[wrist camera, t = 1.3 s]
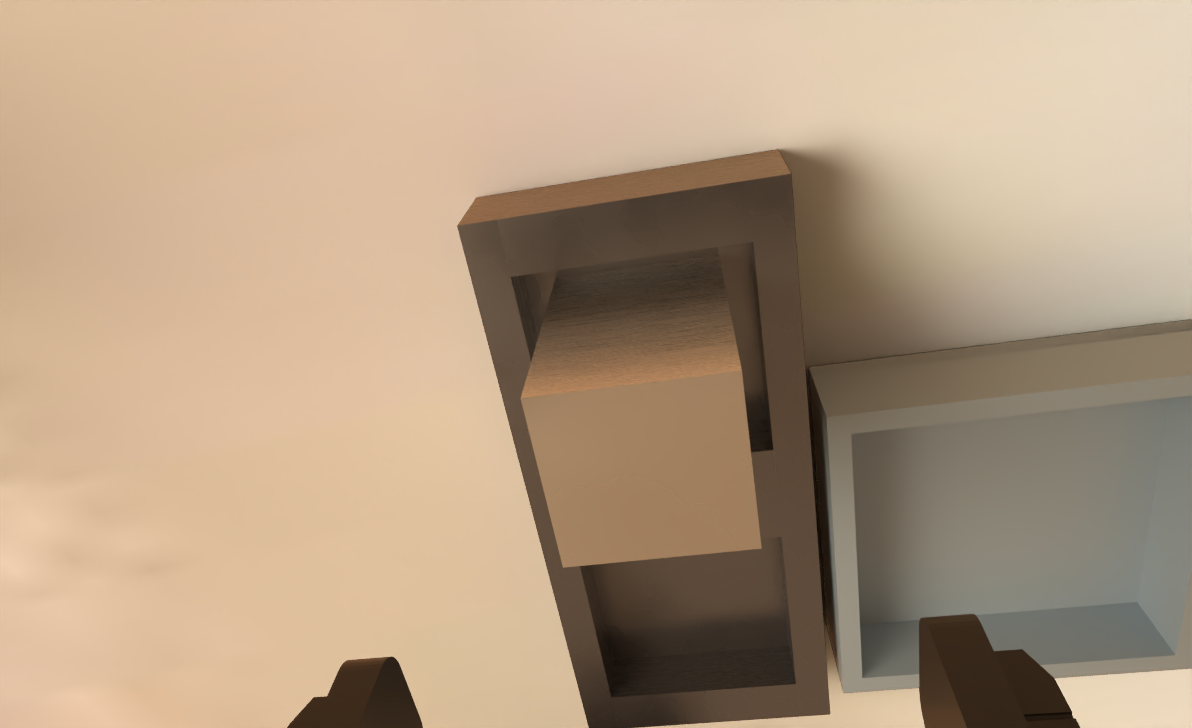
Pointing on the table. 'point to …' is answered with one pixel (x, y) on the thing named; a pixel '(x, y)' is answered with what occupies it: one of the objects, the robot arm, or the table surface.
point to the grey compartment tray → (776, 431)
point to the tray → (1010, 502)
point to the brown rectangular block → (642, 416)
